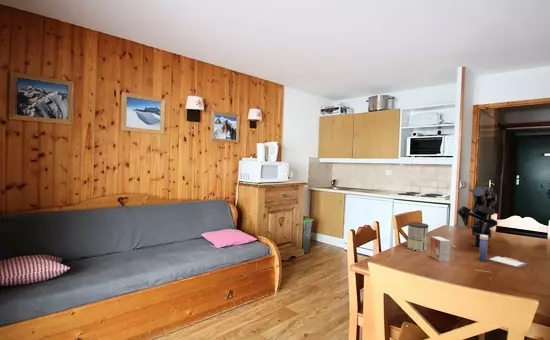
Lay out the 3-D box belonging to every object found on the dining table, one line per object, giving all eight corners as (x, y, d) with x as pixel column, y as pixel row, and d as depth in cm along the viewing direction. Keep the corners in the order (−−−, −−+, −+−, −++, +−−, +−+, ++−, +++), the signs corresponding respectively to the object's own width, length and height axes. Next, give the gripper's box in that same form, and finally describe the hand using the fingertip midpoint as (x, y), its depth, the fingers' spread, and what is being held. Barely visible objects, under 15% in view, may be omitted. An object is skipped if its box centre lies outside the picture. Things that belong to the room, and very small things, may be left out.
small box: (429, 256, 156) (430, 236, 155) (439, 256, 156) (440, 236, 156) (439, 261, 148) (440, 240, 147) (449, 261, 148) (450, 240, 148)
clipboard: (496, 256, 158) (496, 254, 158) (527, 264, 147) (527, 262, 147) (487, 260, 153) (487, 257, 153) (518, 268, 142) (518, 266, 142)
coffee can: (406, 245, 175) (407, 221, 175) (425, 247, 172) (427, 223, 171) (407, 250, 165) (409, 224, 165) (428, 252, 162) (429, 226, 162)
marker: (480, 259, 154) (482, 234, 153) (488, 261, 151) (489, 235, 150) (477, 260, 152) (478, 234, 151) (484, 262, 149) (486, 236, 148)
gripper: (471, 193, 164) (466, 217, 157) (506, 208, 160) (502, 234, 153) (459, 201, 174) (454, 224, 167) (492, 215, 170) (488, 239, 163)
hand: (474, 230), depth 162 cm, fingers open, 9 cm apart
